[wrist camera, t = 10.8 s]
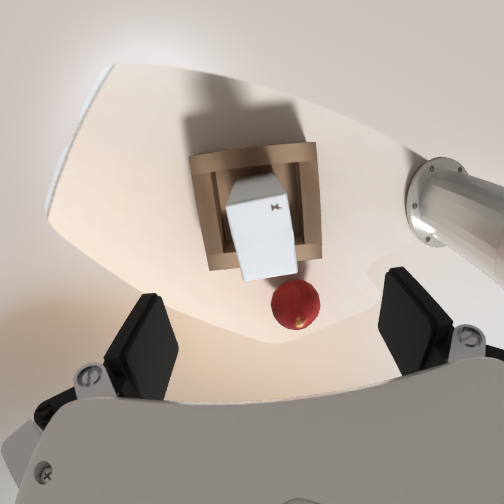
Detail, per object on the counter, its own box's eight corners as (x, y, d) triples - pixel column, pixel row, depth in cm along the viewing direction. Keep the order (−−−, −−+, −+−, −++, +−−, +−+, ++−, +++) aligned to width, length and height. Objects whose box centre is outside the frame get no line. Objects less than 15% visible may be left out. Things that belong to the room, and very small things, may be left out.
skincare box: (234, 178, 28) (223, 202, 17) (273, 170, 28) (288, 190, 17) (246, 230, 31) (242, 284, 20) (283, 223, 30) (300, 273, 19)
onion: (315, 301, 36) (329, 340, 28) (274, 310, 36) (278, 351, 29) (310, 264, 33) (325, 299, 26) (265, 273, 34) (268, 311, 27)
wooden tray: (306, 142, 28) (315, 142, 23) (313, 243, 32) (322, 258, 28) (197, 154, 28) (188, 156, 24) (214, 253, 33) (209, 270, 29)
